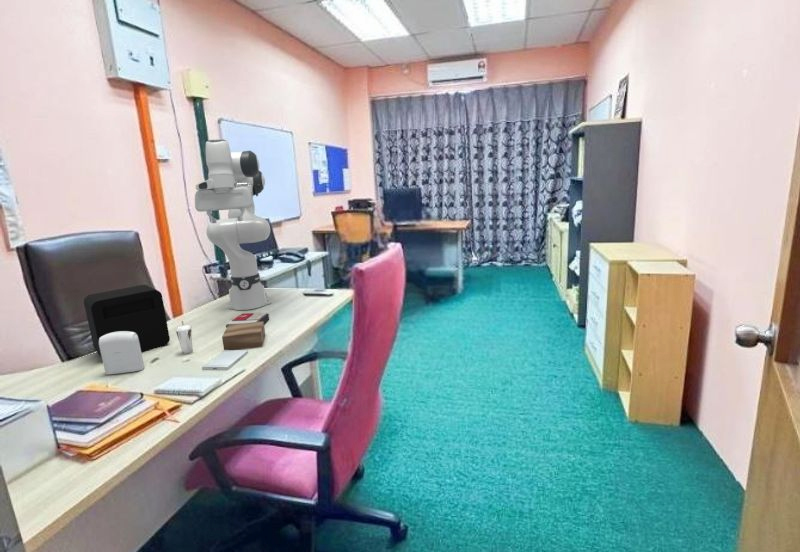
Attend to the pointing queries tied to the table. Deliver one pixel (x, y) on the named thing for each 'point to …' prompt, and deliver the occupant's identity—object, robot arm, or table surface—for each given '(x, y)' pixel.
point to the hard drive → (225, 360)
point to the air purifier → (128, 315)
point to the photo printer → (121, 352)
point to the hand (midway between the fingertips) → (227, 222)
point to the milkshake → (185, 338)
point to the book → (250, 318)
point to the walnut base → (244, 336)
